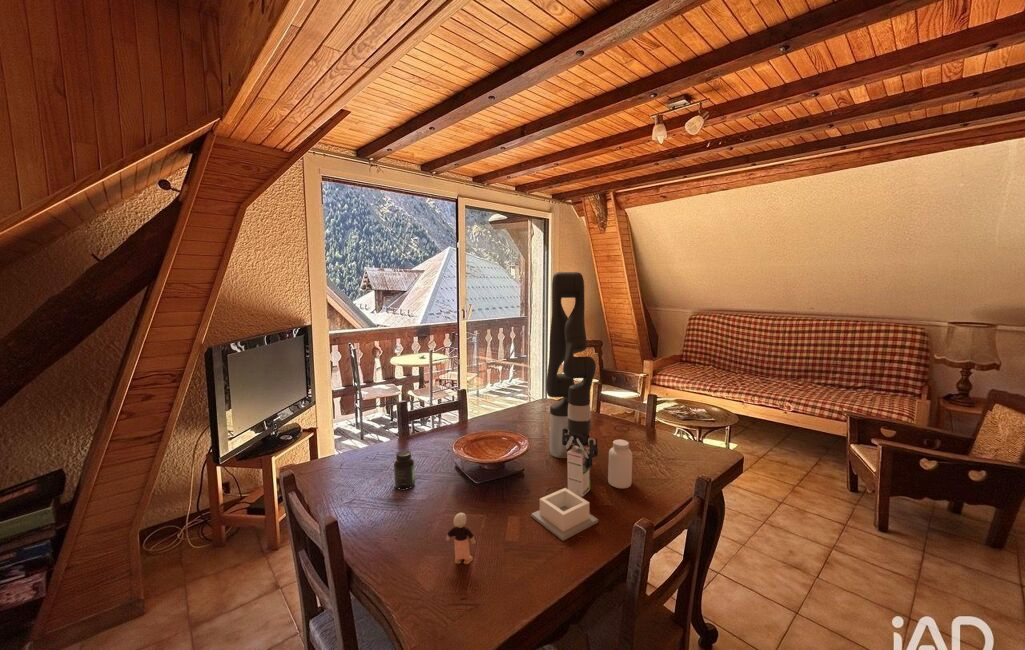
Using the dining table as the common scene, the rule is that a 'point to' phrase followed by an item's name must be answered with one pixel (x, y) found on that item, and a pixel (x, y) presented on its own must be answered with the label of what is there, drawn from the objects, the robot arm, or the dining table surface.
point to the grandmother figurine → (461, 539)
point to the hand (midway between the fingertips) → (579, 463)
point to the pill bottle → (620, 465)
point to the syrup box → (577, 472)
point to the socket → (564, 514)
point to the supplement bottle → (404, 470)
